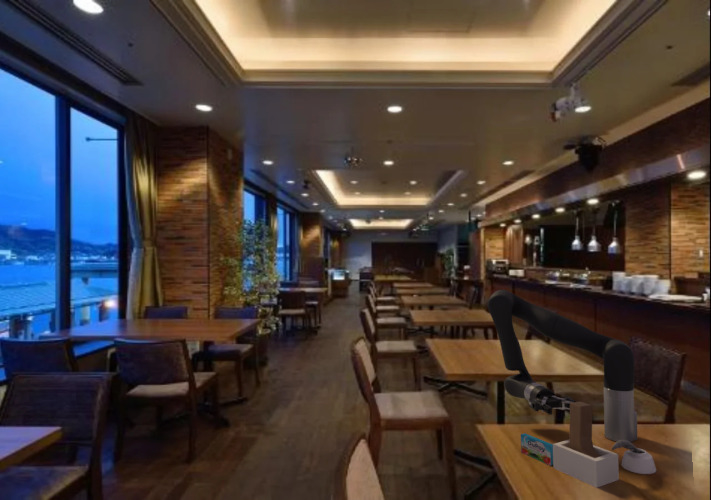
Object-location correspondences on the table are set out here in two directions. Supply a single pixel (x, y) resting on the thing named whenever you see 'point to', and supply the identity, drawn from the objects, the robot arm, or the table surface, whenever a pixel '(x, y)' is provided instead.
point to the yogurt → (537, 449)
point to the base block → (586, 464)
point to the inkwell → (635, 458)
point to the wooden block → (581, 429)
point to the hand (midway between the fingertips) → (564, 410)
